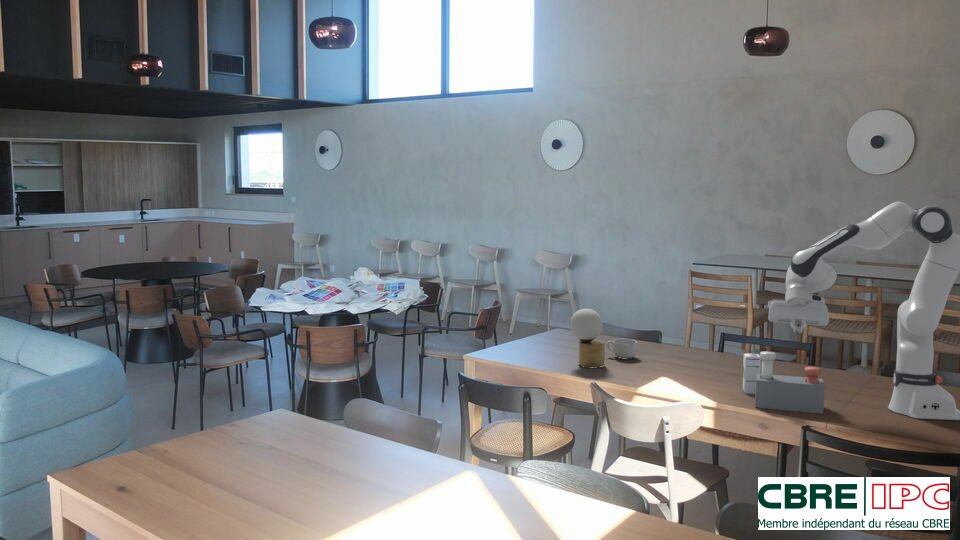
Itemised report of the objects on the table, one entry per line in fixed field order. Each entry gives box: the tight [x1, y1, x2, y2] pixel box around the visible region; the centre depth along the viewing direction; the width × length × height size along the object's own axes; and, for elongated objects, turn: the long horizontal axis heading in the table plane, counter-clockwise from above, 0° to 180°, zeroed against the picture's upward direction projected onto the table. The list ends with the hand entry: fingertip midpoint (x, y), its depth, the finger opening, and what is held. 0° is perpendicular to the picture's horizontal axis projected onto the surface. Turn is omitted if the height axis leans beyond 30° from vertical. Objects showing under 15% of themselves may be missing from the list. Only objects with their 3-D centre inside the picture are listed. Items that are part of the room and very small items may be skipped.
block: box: [754, 373, 826, 415], centre depth 271 cm, size 22×10×10 cm, turn 70°
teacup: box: [605, 337, 638, 359], centre depth 348 cm, size 14×11×8 cm
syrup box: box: [742, 352, 762, 395], centre depth 289 cm, size 6×6×14 cm
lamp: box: [569, 308, 606, 368], centre depth 332 cm, size 15×14×25 cm
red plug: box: [804, 366, 822, 383], centre depth 268 cm, size 5×5×14 cm
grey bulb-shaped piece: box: [759, 350, 777, 379], centre depth 272 cm, size 5×5×14 cm
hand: (797, 332), depth 270 cm, fingers closed
